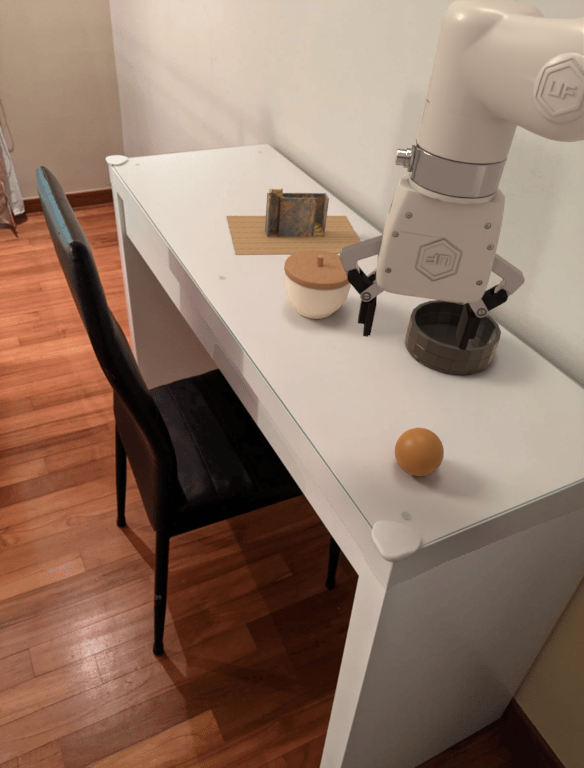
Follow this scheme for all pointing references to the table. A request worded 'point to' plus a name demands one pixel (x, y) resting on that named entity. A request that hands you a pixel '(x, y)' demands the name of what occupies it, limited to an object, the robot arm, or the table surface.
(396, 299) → the table surface
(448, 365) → the bowl
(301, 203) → the architectural model on board
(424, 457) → the orange ball
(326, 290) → the trinket box
